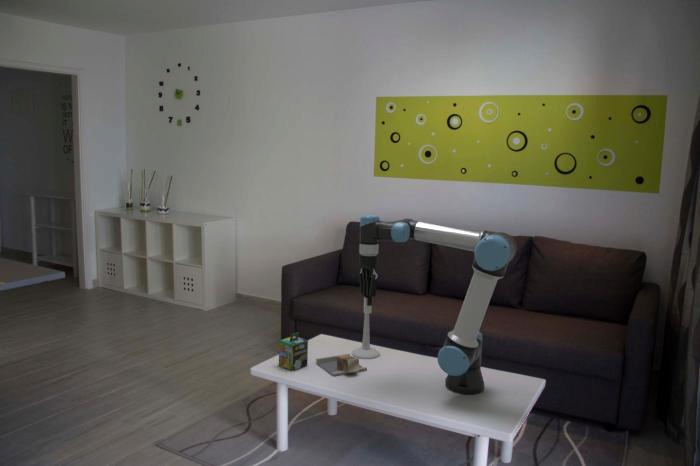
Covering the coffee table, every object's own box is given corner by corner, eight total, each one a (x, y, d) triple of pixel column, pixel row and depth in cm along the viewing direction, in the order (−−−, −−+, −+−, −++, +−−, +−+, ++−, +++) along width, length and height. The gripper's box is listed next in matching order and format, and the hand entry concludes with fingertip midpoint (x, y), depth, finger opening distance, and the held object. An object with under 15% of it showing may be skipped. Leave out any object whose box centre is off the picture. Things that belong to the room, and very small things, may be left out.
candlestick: (356, 348, 271) (357, 286, 267) (382, 351, 268) (384, 288, 264) (348, 357, 259) (350, 291, 255) (376, 360, 255) (378, 294, 252)
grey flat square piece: (366, 370, 243) (366, 364, 243) (333, 376, 235) (333, 370, 235) (348, 358, 257) (348, 353, 256) (316, 363, 249) (316, 358, 249)
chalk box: (293, 360, 252) (293, 328, 251) (308, 365, 247) (308, 332, 245) (277, 366, 245) (278, 332, 244) (292, 371, 240) (293, 337, 238)
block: (358, 358, 237) (347, 354, 246) (348, 360, 235) (336, 356, 244) (359, 370, 237) (347, 366, 246) (348, 372, 235) (337, 368, 244)
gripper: (385, 256, 222) (384, 315, 225) (368, 251, 233) (367, 308, 236) (369, 257, 218) (367, 318, 221) (352, 252, 230) (351, 310, 232)
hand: (367, 313), depth 229 cm, fingers closed
